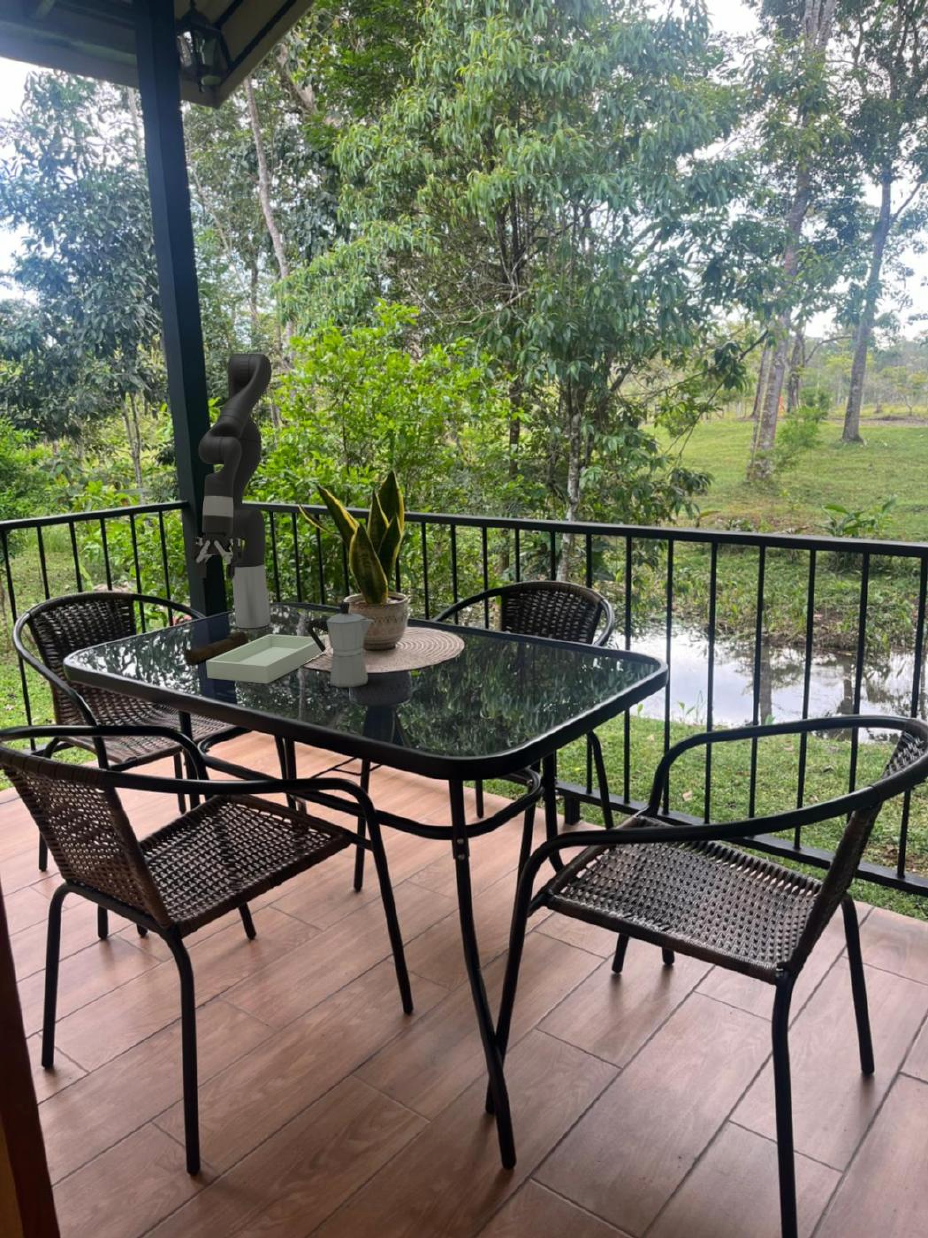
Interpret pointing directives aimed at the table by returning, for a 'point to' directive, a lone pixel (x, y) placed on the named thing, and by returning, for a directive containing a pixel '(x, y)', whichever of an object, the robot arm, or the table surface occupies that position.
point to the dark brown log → (216, 648)
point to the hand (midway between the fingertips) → (215, 578)
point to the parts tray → (264, 658)
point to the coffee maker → (344, 645)
